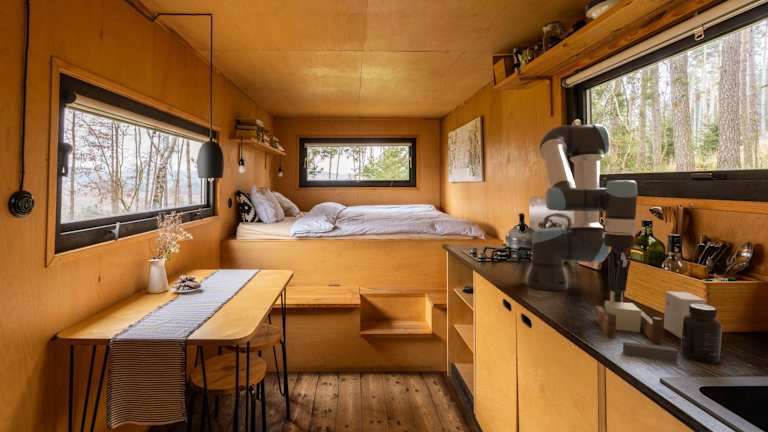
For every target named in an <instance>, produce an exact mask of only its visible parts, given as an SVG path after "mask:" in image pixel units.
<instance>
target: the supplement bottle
mask: <svg viewBox="0 0 768 432" xmlns="http://www.w3.org/2000/svg"><path fill="white" fill-rule="evenodd" d="M689 313H690V314H689V315H686V316H684V318H683V322H682V337H681V338H680V339H681V341H680V353H681V354H682V356H683V357H684V358H687V359H689V360H691V361H694V362H697V363H702V364H707V365H708V364H711V365H712V364H717V363H719V361H720V357H721V345H722V333H723V325H722V323H721V322H720V321H719V320H718V319H717V318H718V308H717V307H715V306H712V305H709V304H706V305H705V304H696V303H693V304H690V305H689Z"/></svg>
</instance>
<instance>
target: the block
mask: <svg viewBox="0 0 768 432" xmlns="http://www.w3.org/2000/svg"><path fill="white" fill-rule="evenodd" d="M604 310H605V311H606V312H607V313H614V314H615V315H616V330H617V331H628V332H635V333H636V332H637V333H640V332H641V329H640V324H641V311H642V309H640V308H639V307H637V305H635V304H634V303H633V302H623V301H622V302H612V301H610V300H604Z"/></svg>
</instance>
